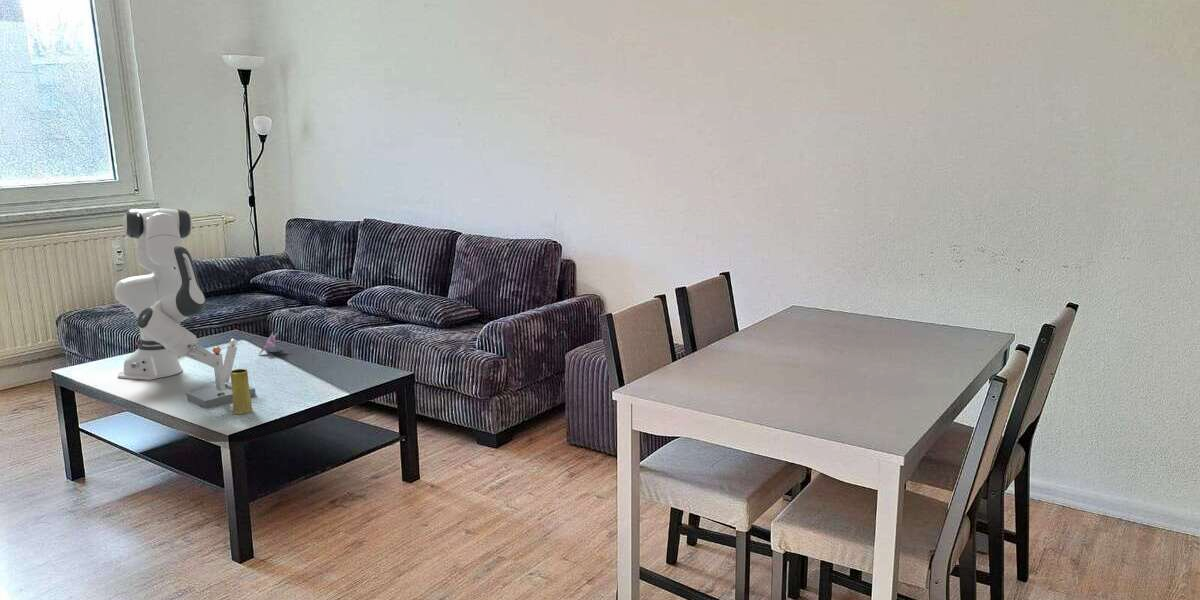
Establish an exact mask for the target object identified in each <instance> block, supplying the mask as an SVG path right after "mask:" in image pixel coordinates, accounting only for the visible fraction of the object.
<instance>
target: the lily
mask: <svg viewBox="0 0 1200 600" xmlns="http://www.w3.org/2000/svg"><path fill="white" fill-rule="evenodd" d="M279 332H280V330H278V331H277V332H276V333H275V334H274V332H272V333H271V334H270V335H269V337H268V340H267V341H266V343H265V345H264V346H263V348H261V350H260V351H259V353H258V357H259V356H260V355H261V353H263V352H264V351H265V352H268V350H269V349H270V348H274V347H275V349H276V350H277V351H279V353H280V354H282V352H281V350H279V348H278V347H277V346H276V344H275V343H276V342H275V341H276V336H277V335H278V333H279Z"/></svg>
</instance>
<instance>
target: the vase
mask: <svg viewBox="0 0 1200 600" xmlns="http://www.w3.org/2000/svg"><path fill="white" fill-rule="evenodd" d="M230 382H231V384H232V393H233V401H232V413H233V414H234V415H246V414H249V413H252V411H253V407H252V398H251V397H252V396H251V397H250V390H249V386H250V384H249V375H248V369H247V368H237V369H232V371H231V372H230Z"/></svg>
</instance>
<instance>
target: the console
mask: <svg viewBox="0 0 1200 600" xmlns="http://www.w3.org/2000/svg"><path fill="white" fill-rule="evenodd" d="M225 387H226V390H225V391H219V390H217V389H216V385H214V386H208V387H206V388H202V389H197V390H194V391H189V392H186V399H187V401H190V402H192V403H194V404H196V405H199V406H200V407H202V408H205V409H207V408H211V407H216V406H219V405H222V404H226V403H231V402H233V393H232V384H231V381H229V383H226V382H225ZM249 390H250V397H254V396H256V394H257V393H256V388H255V387H252V386H250V385H249Z"/></svg>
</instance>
